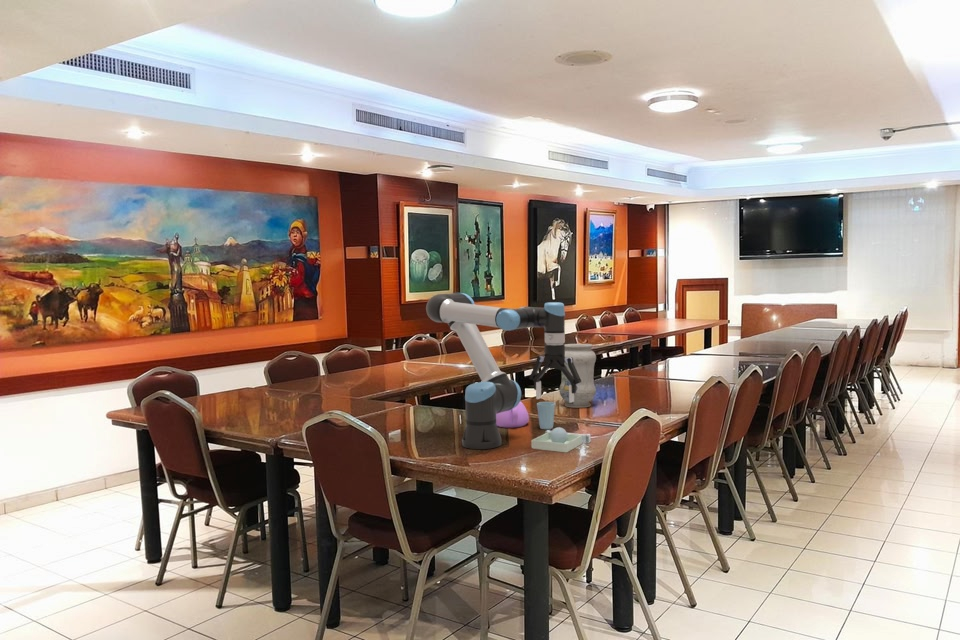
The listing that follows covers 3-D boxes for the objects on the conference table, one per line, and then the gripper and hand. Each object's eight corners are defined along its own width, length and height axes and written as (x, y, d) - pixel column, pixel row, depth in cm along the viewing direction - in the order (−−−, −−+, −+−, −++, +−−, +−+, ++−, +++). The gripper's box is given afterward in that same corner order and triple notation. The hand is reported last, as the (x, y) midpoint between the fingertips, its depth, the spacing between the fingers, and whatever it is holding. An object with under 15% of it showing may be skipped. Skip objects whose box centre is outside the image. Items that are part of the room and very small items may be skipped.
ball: (545, 443, 258) (549, 426, 257) (553, 439, 264) (556, 423, 262) (561, 449, 255) (564, 432, 254) (568, 445, 260) (571, 429, 259)
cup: (553, 425, 294) (553, 401, 294) (557, 429, 287) (556, 404, 286) (536, 426, 294) (535, 402, 293) (539, 430, 286) (538, 405, 285)
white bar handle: (545, 438, 271) (545, 431, 271) (548, 437, 273) (547, 429, 273) (588, 443, 262) (588, 435, 262) (590, 441, 264) (590, 434, 264)
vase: (577, 400, 349) (575, 341, 347) (604, 405, 335) (603, 343, 333) (552, 405, 338) (550, 344, 336) (579, 410, 324) (578, 347, 322)
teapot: (534, 428, 290) (533, 400, 289) (498, 431, 287) (497, 402, 286) (522, 418, 311) (521, 391, 310) (488, 420, 309) (487, 393, 308)
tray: (531, 448, 257) (531, 440, 257) (548, 440, 269) (547, 432, 269) (566, 452, 249) (566, 444, 249) (582, 443, 262) (581, 435, 261)
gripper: (520, 343, 260) (520, 399, 262) (581, 346, 247) (582, 405, 249) (529, 341, 266) (529, 395, 268) (589, 344, 253) (589, 401, 255)
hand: (554, 400), depth 258 cm, fingers open, 13 cm apart
